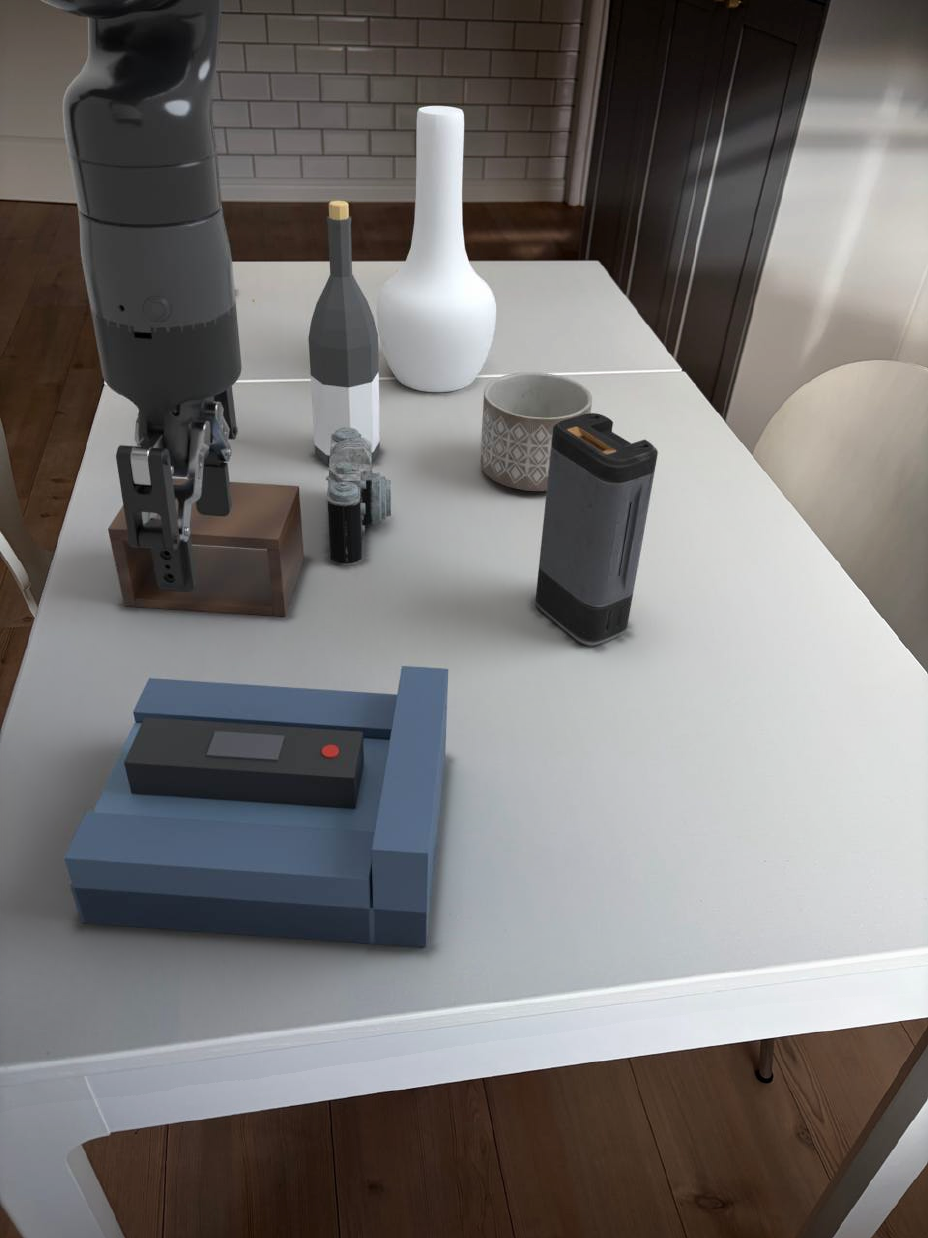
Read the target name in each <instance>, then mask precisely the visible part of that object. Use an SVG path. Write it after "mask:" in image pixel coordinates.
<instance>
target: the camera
mask: <svg viewBox="0 0 928 1238" xmlns="http://www.w3.org/2000/svg"><path fill="white" fill-rule="evenodd" d="M327 467H328V475H327V476H325V480H326V481H328V482H327V491H326V496H327V497H326V501H327V514H328V515H327V517H328V519H327V520H328V534H329V536H328V537H329V538H328V539H329V556H330V557H329V560H330V561H331V562H332V563H334V564H337V565H343V566H346V565H349V566H350V565H354V564H358V563H359V562H361V561H362V559H363V558H362V557H363V534H365V529H366V527H368V526H373V525H374V524H381V522H382V520H386V519H387V517H391V516H392V491H391V487H392V486H391V479H389V478H387V479H386V477H385V476H382V475H381V473H380V472H373V463H372V445H371V443H370V442H369V441H368V440H366V439H365V438H361V434H360V433H358V431H357V430H356V429H354V428H347V427H346V428H340V429H337V430H336V431H335V433H333V434H331V446H330V458H328V466H327Z"/></svg>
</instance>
